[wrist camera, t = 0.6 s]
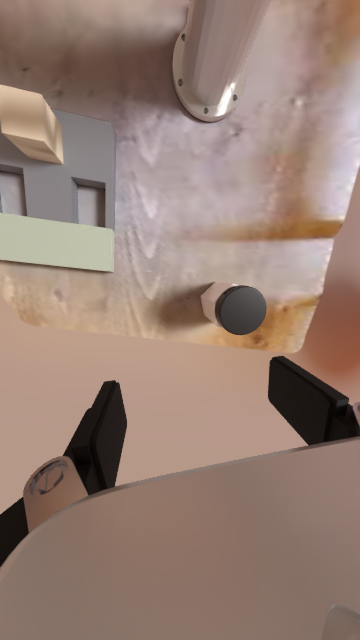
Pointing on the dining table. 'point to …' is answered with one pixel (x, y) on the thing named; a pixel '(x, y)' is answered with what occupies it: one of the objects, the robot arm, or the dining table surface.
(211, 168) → the dining table surface
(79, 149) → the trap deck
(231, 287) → the jar
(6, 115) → the birch block
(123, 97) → the dining table surface
